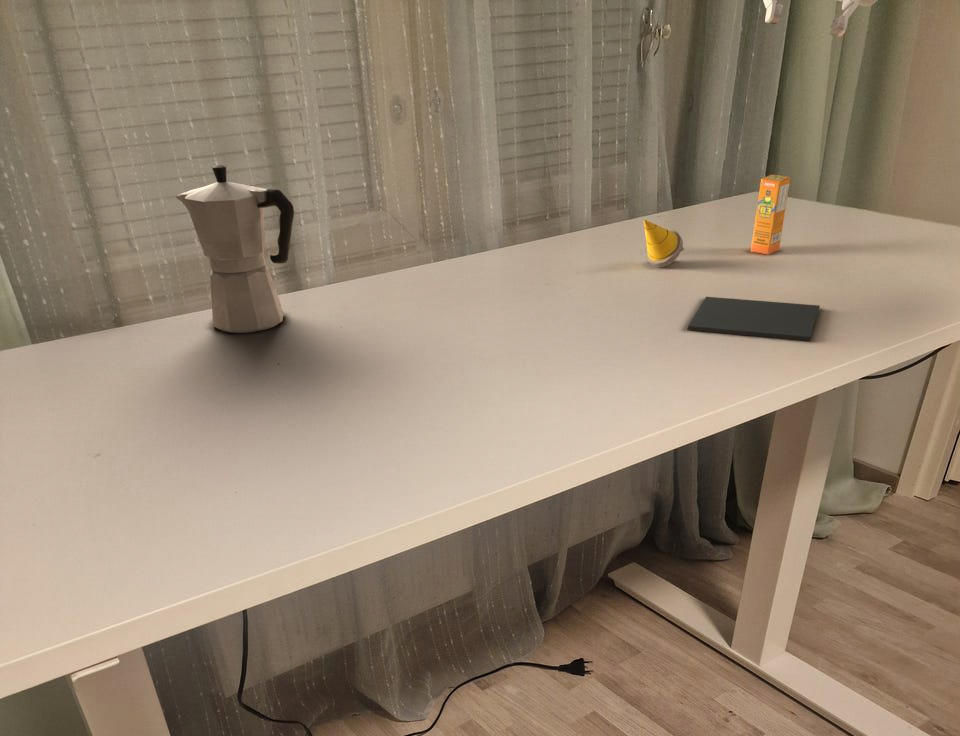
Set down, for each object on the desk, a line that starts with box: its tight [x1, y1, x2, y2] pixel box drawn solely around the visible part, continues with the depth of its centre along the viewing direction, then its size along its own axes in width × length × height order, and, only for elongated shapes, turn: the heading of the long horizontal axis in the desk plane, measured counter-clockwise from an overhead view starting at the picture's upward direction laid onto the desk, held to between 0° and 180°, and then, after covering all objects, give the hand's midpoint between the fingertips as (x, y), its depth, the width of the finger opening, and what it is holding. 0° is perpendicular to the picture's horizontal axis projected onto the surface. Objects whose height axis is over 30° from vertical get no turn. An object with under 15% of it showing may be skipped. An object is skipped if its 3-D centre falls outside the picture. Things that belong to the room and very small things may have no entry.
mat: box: [687, 296, 820, 342], centre depth 105 cm, size 14×12×1 cm
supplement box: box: [750, 174, 791, 256], centre depth 126 cm, size 3×3×10 cm
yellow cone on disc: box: [643, 219, 685, 268], centre depth 122 cm, size 5×5×10 cm
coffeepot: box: [175, 163, 295, 334], centre depth 105 cm, size 15×9×18 cm, turn 72°
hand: (805, 27), depth 116 cm, fingers open, 8 cm apart
